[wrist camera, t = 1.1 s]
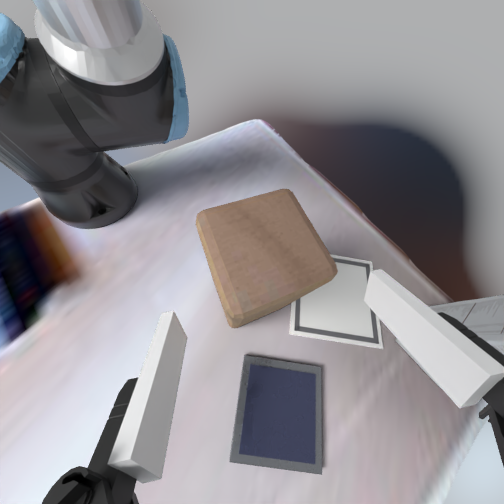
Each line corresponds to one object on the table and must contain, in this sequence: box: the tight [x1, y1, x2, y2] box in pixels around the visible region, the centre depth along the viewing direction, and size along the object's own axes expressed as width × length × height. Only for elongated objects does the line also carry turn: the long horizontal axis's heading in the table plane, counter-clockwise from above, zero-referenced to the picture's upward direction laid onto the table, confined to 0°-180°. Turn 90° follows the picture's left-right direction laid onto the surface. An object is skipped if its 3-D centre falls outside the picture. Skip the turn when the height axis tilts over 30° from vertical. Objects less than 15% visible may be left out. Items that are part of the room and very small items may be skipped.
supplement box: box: [396, 295, 504, 388], centre depth 26 cm, size 10×9×17 cm
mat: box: [289, 254, 383, 349], centre depth 35 cm, size 16×16×1 cm
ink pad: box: [230, 355, 322, 475], centre depth 27 cm, size 12×12×1 cm
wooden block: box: [196, 189, 338, 328], centre depth 25 cm, size 10×10×20 cm
